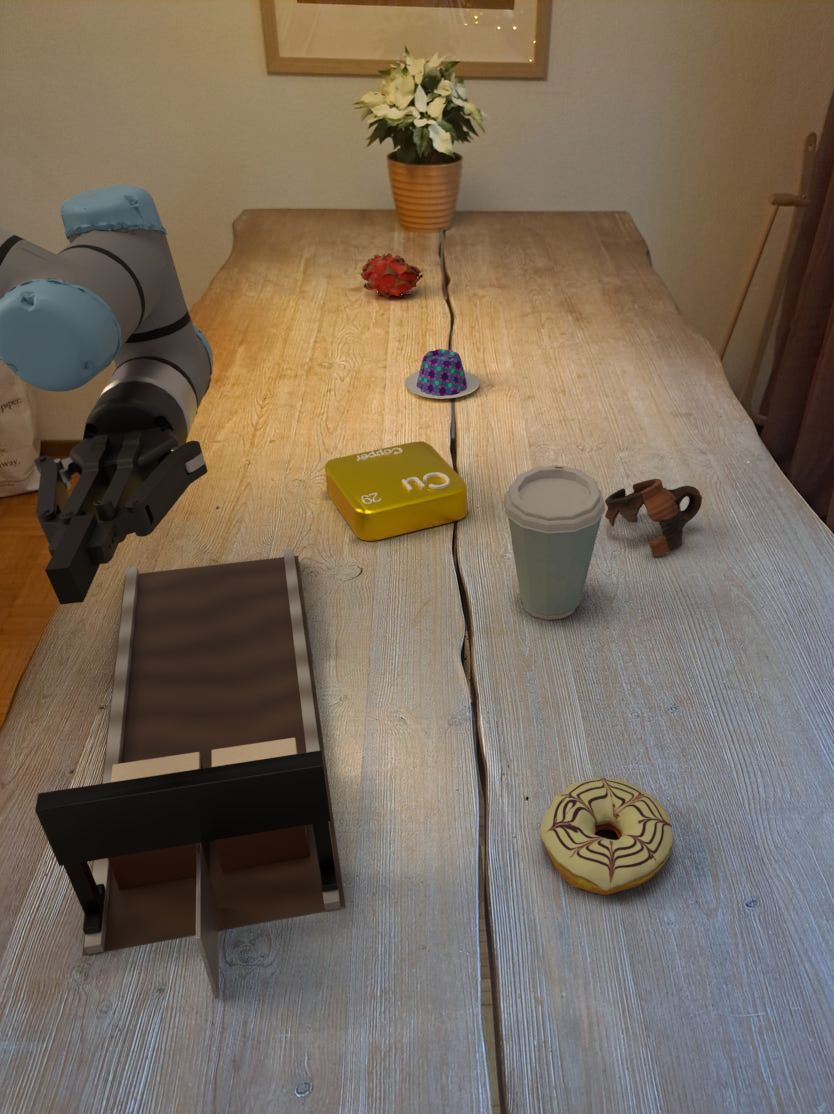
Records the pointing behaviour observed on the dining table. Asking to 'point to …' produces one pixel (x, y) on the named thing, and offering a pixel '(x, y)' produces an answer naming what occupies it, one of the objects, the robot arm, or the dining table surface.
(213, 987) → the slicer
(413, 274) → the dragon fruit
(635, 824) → the decorated donut
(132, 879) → the cake
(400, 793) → the dining table surface
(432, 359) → the pudding
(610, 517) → the pottery mug
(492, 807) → the dining table surface
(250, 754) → the cake
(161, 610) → the brown long flat board
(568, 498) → the disposable coffee cup
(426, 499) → the element tile
